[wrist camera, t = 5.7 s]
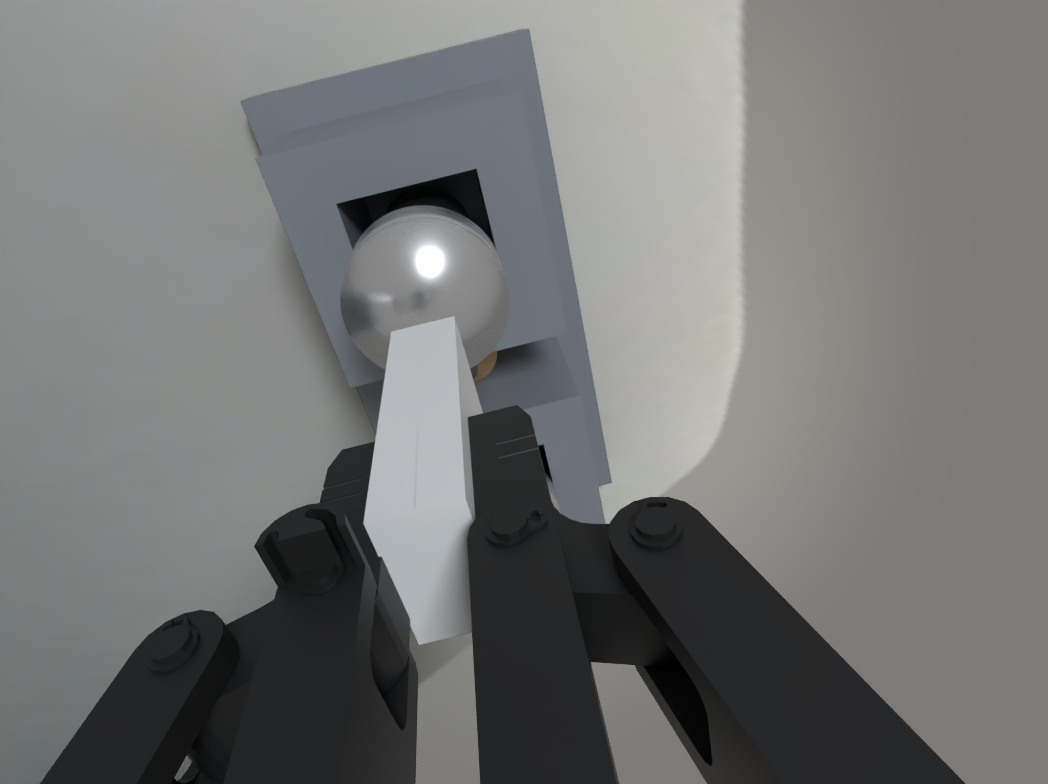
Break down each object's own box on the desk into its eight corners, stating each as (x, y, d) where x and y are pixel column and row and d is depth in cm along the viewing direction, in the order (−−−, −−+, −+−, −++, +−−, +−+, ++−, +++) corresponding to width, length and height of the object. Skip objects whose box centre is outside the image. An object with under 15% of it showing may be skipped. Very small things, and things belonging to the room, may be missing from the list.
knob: (386, 302, 27) (373, 396, 20) (345, 185, 25) (313, 247, 18) (500, 273, 27) (525, 358, 20) (471, 153, 25) (488, 203, 18)
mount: (416, 514, 40) (413, 618, 33) (249, 97, 27) (189, 122, 20) (605, 466, 40) (642, 560, 33) (524, 28, 27) (556, 30, 20)
